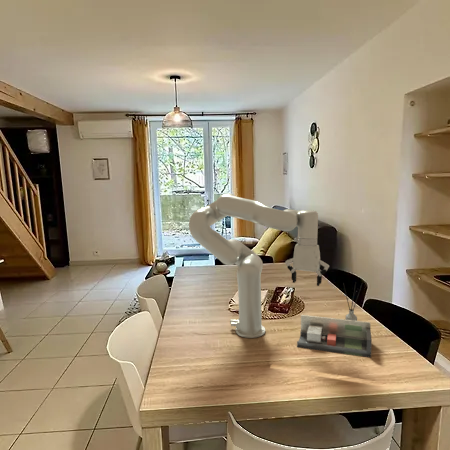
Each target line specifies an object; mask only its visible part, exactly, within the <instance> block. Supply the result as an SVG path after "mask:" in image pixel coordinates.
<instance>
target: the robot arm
mask: <svg viewBox="0 0 450 450" xmlns="http://www.w3.org/2000/svg"><path fill="white" fill-rule="evenodd" d="M227 217H231V218H235V219H240V220H244V221H248V222H251V223H254V224H258V225H260V226H264V227H267V228H270V229H275V230H279V231H283V232H290V231H293V230H294V229H295V228H296V227H297V237H294V238H293V241H294V242H296V244H295V246H294V251H293V257H292V258H289V259H287V260H285V265H286V268H287V269H288V270H289V272H290V273H291V281H292V283H293V284H295V283H296V282H297V271H303V272H312V273H313V272H315V273H316V274H317V275H316V286H317V287H320V285H321V284H322V282H323V281H322V278H323V276H324V274H325V273H326V272H327V271H328V269H329V268H330V265H329V264H328V263H326V262H324V261H323V260H321V252H320V245H319V244H318V233H319V232H318V231H319V230H318V228H319V226H318V224H319V213H318V212H317V211H316V210H312V209H309V210H308V209H307V210H306V209H304V210H298V209H291V208H286V209H283V210H280V209H277V208H273V207H269V206H266V205H264V204H263V203H262V202H259V201H257V200H254V199H250V198H244V197H239V196H236V195H235V194H234V193H224V194H221V195H220V196H219V197H218V198H216V200H215V201H213V202H211V203H209V204H207V205H206V206H204V207H201V208H198V209H196V210H194V211H193V212H192V214H191V215H190V217H189V220H188V221H189V222H188V229H189V233H190V234H191V236H192V238H193V240H195V241H196V243H198V244H199V245H200V246H202V247H203V248H204V249H205V250H207V251H208V252H209V253H210V254H211V255H213V256H214V257H215V258H216V259H217V260H219V261H220V262H221V263H222V264H223V265H225V266H233V265H236V266H237V270H236V280H237V294H238V295H237V296H238V297H237V298H238V319H233V318H231V319H230V321H229V324H230V326H231V327H235V333H236V335H237V336H239V337H242V338H246V339H255V338H260V337H262V336H264V335H265V334H266V328H265V326H263V325H262V319H263V318H262V286H261V285H262V283H261V282H262V281H261V274H262V271H263V267H264V263H263V260H262V259H261V257H260V256H259V255H258V254H256V253H255V252H254V251H253V250H252V249H250V248H249V247H248V246H246V245H245V244H244V243H242V242H241V241H239V240H237V239H235V238H234V239H227V238H226V237H224V236H222V234H220V233H219V232H218V231H216V230H214V229H213V228H212V227H211V226H212V225H214V224H216V223H217V222H219V221H221V220H223V219H225V218H227ZM291 263H292V265H291ZM321 266H322V267H323V269H322V270H321V269H320V268H321ZM296 270H297V271H296Z"/></svg>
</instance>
